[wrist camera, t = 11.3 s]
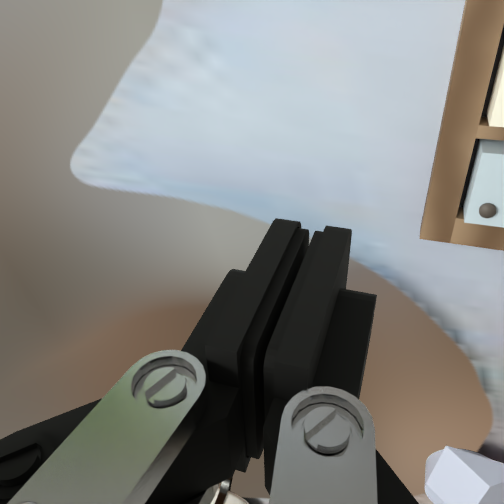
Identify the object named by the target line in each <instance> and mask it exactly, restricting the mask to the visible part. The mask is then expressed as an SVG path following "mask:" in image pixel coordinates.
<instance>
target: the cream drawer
mask: <svg viewBox="0 0 504 504" xmlns="http://www.w3.org/2000/svg"><path fill="white" fill-rule="evenodd" d="M487 117H488V123H489V126H494V127H504V45H503V49H502V53H501V57H500V61H499V65H498V69H497V73H496V77H495V81H494V84H493V88H492V92H491V96H490V100H489V104H488V108H487Z"/></svg>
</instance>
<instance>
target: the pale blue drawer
mask: <svg viewBox="0 0 504 504" xmlns="http://www.w3.org/2000/svg"><path fill="white" fill-rule="evenodd" d="M463 209H464V223H472V224H479V225H487V226H495V227H503V228H504V141H503V140H491V139H480V140H479V144H478V148H477V152H476V156H475V160H474V164H473V168H472V172H471V176H470V180H469V184H468V188H467V192H466V196H465V200H464V204H463Z"/></svg>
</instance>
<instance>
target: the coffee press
mask: <svg viewBox="0 0 504 504" xmlns="http://www.w3.org/2000/svg"><path fill="white" fill-rule="evenodd" d="M231 483H232V477H231V478H229V479H227V480H225V481H223V482H222V484H221V487H220V488H219V487H218V489H217V492H216V494H215V497H214V498H213V500H212V502H211V504H249V503H248V502H247V501H246V500H245V499H243V498H242V497H240V496H239V495H237V494H235V493H233V492H231V491H230V487H231Z"/></svg>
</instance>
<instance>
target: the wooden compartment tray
mask: <svg viewBox="0 0 504 504" xmlns="http://www.w3.org/2000/svg"><path fill="white" fill-rule="evenodd" d="M503 25H504V0H466V1H465V6H464V11H463V16H462V21H461V26H460V31H459V36H458V41H457V46H456V52H455V57H454V62H453V67H452V72H451V77H450V82H449V87H448V92H447V97H446V102H445V107H444V112H443V117H442V122H441V127H440V132H439V137H438V142H437V147H436V152H435V157H434V162H433V167H432V172H431V178H430V183H429V188H428V193H427V198H426V203H425V208H424V213H423V218H422V223H421V229H420V239H425V240H432V241H439V242H446V243H454V244H461V245H468V246H475V247H482V248H489V249H496V250H503V251H504V228H503V227H495V226H487V225H479V224H472V223H464V209H463V207H459V204H460V200H461V196H462V192H463V188H464V184H465V180H466V175H467V171H468V167H469V163H470V159H471V155H472V151H473V147H474V143H475V139H476V138H478V139H491V140H503V141H504V127H494V126H489V123H488V117H483V116H481V115H482V110H483V106H484V102H485V98H486V94H487V90H488V86H489V82H490V78H491V74H492V70H493V66H494V62H495V58H496V54H497V49H498V45H499V41H500V37H501V33H502V29H503Z"/></svg>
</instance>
